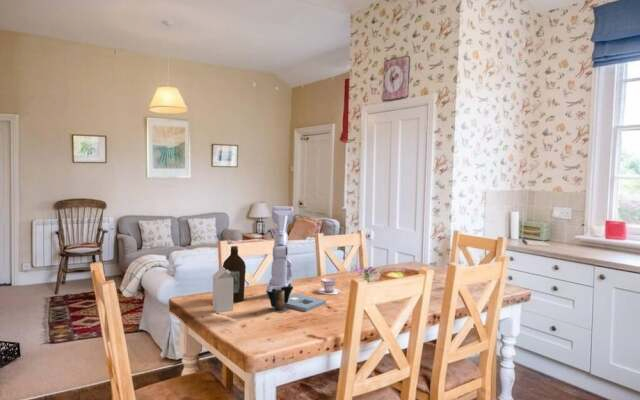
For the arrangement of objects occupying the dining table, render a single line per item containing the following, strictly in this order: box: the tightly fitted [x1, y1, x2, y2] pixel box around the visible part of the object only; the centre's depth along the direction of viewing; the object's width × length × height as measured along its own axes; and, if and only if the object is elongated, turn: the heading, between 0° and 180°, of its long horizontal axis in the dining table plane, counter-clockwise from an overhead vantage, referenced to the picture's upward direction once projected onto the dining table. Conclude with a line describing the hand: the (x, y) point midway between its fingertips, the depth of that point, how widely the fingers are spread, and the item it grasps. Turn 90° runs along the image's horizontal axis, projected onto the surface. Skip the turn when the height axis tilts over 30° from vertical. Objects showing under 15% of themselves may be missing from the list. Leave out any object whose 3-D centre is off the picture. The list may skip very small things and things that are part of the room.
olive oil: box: [222, 245, 247, 303], centre depth 205 cm, size 11×11×25 cm
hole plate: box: [284, 293, 327, 313], centre depth 198 cm, size 18×15×3 cm
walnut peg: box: [275, 290, 285, 311], centre depth 189 cm, size 4×4×8 cm
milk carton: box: [212, 265, 234, 315], centre depth 187 cm, size 7×7×19 cm
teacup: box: [316, 277, 342, 296], centre depth 223 cm, size 12×12×6 cm
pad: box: [266, 306, 292, 314], centre depth 189 cm, size 8×8×1 cm
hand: (279, 304), depth 189 cm, fingers open, 7 cm apart
